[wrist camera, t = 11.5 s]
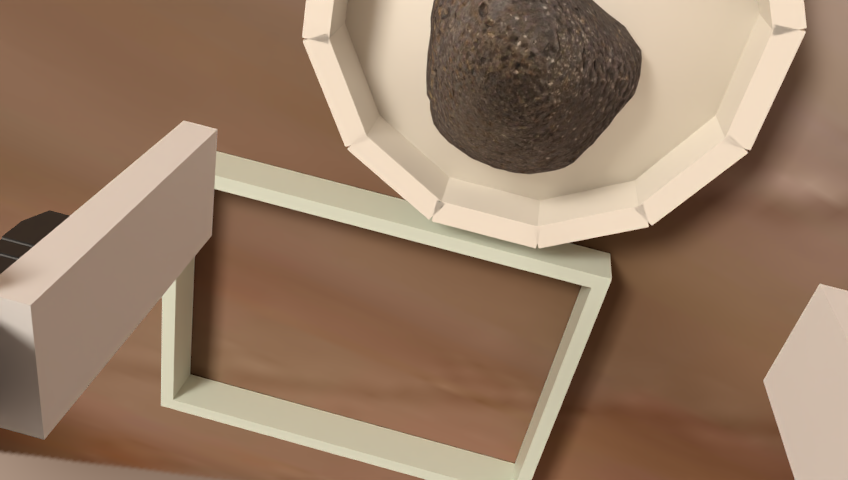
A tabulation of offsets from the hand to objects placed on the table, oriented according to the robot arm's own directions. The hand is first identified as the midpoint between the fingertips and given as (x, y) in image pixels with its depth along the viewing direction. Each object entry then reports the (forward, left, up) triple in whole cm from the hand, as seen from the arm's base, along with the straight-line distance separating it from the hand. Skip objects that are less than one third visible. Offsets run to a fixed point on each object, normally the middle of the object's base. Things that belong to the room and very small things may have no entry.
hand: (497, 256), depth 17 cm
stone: (-1, -2, -21) cm, 21 cm away
